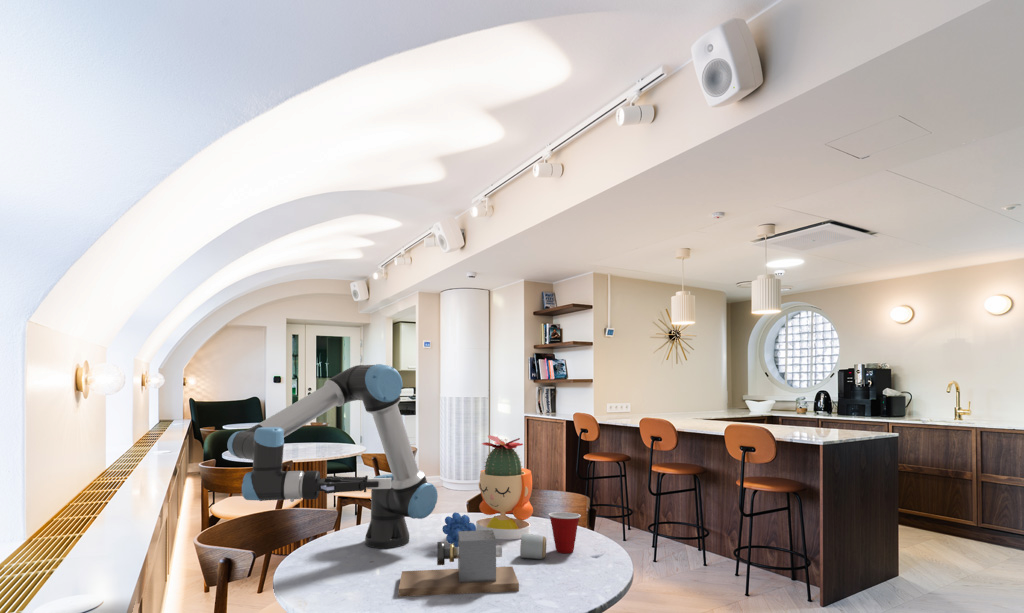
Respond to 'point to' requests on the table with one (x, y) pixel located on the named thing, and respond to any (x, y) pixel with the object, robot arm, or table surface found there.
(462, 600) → the table surface
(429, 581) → the base plate
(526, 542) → the ceramic mug
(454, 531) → the grapes
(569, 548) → the plastic cup
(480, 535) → the bearing block
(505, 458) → the potted cactus
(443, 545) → the shaft
